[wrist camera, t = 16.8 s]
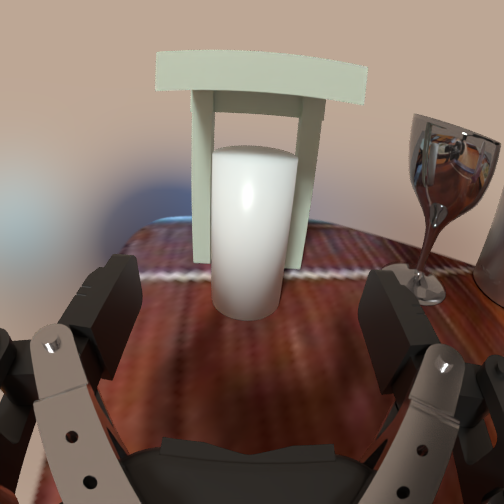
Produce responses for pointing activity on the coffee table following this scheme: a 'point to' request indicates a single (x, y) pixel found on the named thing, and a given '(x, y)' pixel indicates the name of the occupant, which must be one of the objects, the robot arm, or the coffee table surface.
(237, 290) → the white plastic cylinder
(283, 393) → the coffee table surface
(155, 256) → the coffee table surface
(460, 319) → the coffee table surface
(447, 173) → the wine glass
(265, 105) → the small green stool
